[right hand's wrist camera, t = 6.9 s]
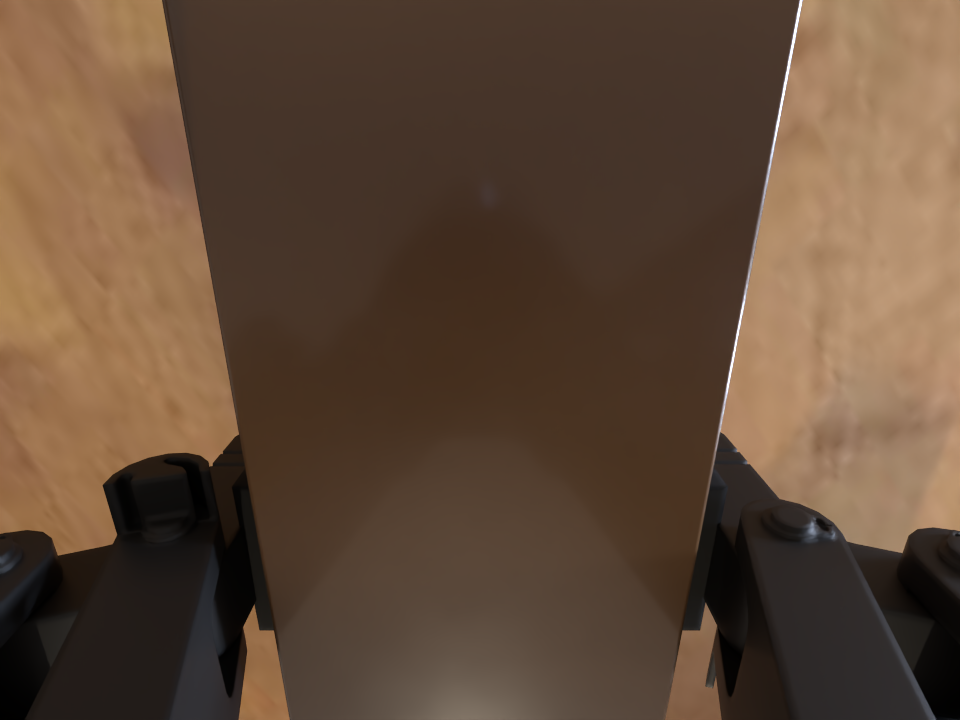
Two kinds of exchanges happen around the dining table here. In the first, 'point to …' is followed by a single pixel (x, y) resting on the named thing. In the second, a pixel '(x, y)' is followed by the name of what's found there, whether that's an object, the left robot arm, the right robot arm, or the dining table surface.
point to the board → (480, 328)
